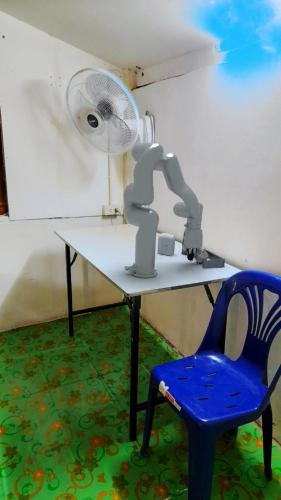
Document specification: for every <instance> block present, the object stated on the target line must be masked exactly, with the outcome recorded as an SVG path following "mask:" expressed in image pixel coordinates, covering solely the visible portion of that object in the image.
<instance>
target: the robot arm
mask: <svg viewBox="0 0 281 500" xmlns="http://www.w3.org/2000/svg"><path fill="white" fill-rule="evenodd" d="M131 156H132V158H133V160H134V161H135V162H136V163H135V165H134V168H133V182H131V183H129V184H127V185H126V186H125V188H124V191H123V203H124V204H123V205H124V211H125V212H124V213H125V218H126V221H127V222H128V223H129V225H132V226H135V227H138V229H137V232H136V235H135V251H134V253H135V254H134V263H133V264H132V265H128V266H124V271H128V272H130V273H131V275H132V276H135V277H137V278H142V279H143V278H144V279H146V278H147V279H148V278H149V279H150V278H154V277H157V276H158V275H159V274H158V270H157V269H155V267H156V266H155V265H156V264H155V263H156V247H157V246H156V245H157V232H158V226H159V223H160V217H159V214H158V212H157V211H156V210H154V209H153V208H149V207H147V206H151V205H152V204H153V203H154V200H155V192H154V191H155V190H154V171H156V172H157V171H159V172H162V175H163V177H164V180H165V183H166V185H167V189H168V190H169V191H171V192H172V193H173V194H174V195H176V196H178V197H180V199H181V200H182V201H180V202H176V203H175V204H174V205H173V208H172V211H173V213H174V215H175V216H176V217H179V218H182V219H186V223H185V224H183V227H184V229H183V234H182V241H181V246H182V247H181V250H182V249H183V250H186V251H187V252H188V256H187V255H186V258H187V260H188V261H190V262H193V261H194V260H195V258H194V254H195V252H196V251H197V250H202V247H203V242H204V241H203V239H204V237H203V229H202V220H203V211H204V205H203V203H202V202H199V199H198V197H197V195H196V193H195V192H194V190H193V189H192V188H191V187H190V186H189V184H187V183H186V180H185V177H184V175H183V172H182V169H181V164H180V162H179V158H178V157H177V154H175V153H172V152H165V151H164V147H163V145H162V144H160V143H158V142H138V143H136V144H135V145H134V146H132V149H131Z"/></svg>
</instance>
